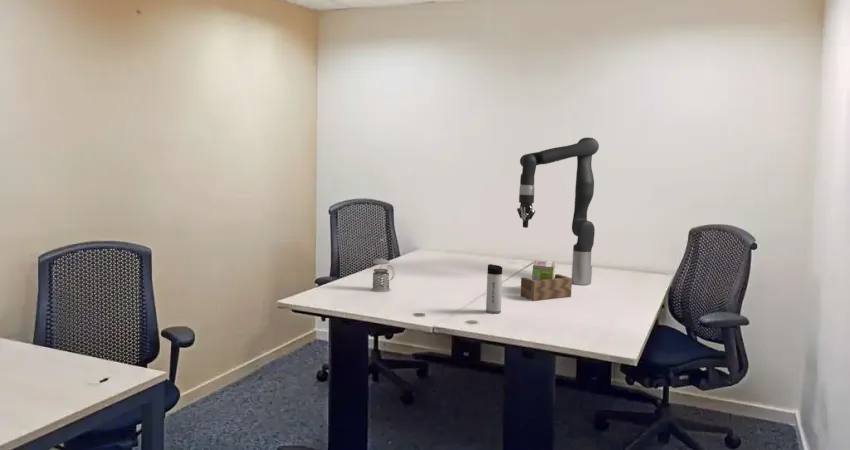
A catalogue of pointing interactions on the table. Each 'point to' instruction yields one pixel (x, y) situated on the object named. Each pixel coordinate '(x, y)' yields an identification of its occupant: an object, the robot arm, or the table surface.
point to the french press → (381, 276)
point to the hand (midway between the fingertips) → (525, 227)
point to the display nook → (546, 288)
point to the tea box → (543, 270)
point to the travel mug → (494, 289)
